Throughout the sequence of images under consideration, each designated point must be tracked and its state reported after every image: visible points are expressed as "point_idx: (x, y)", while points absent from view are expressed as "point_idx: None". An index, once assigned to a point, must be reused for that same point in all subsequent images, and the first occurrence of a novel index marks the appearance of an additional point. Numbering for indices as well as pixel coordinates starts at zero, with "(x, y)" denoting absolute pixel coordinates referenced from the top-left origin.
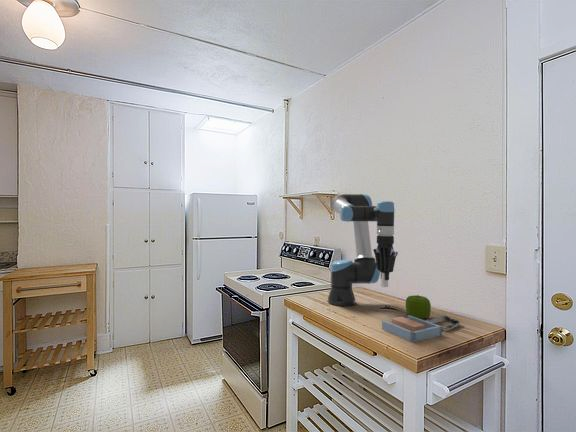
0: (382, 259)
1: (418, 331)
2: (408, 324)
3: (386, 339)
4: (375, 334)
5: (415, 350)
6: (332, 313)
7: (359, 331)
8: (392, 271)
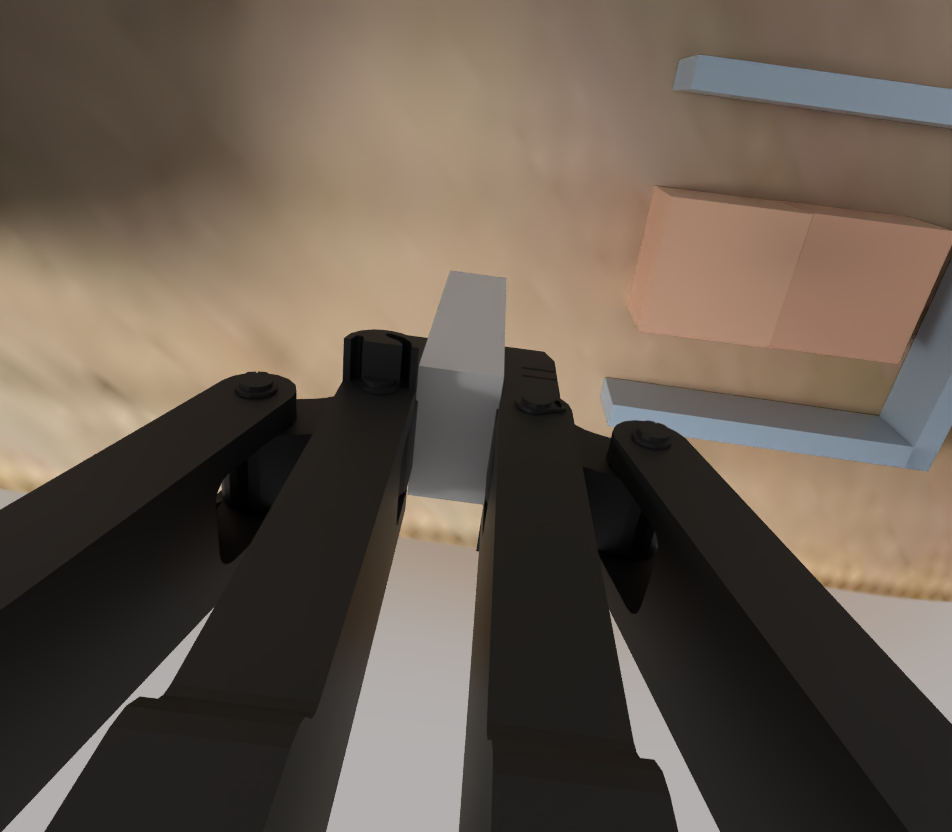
0: (334, 779)
1: (950, 410)
2: (829, 347)
3: None
4: None
5: (945, 524)
6: (127, 424)
7: None
8: (674, 444)
